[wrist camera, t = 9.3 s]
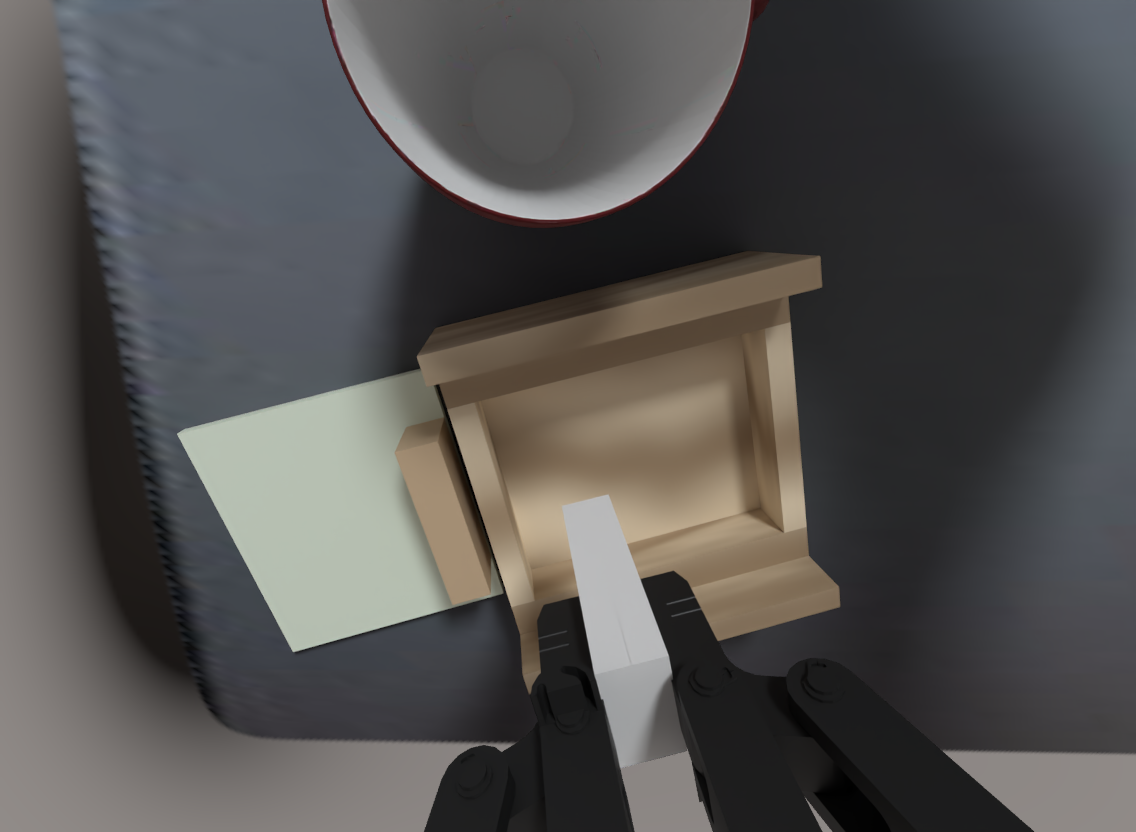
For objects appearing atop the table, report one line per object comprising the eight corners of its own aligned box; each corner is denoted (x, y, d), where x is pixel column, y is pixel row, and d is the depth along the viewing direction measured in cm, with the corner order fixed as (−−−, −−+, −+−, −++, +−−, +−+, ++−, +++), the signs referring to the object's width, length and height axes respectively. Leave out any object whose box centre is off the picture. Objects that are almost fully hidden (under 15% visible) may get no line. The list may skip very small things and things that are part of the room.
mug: (641, -112, 17) (808, -515, 8) (725, 137, 20) (922, 53, 11) (359, 44, 18) (206, -164, 8) (479, 267, 21) (465, 296, 11)
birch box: (435, 327, 21) (416, 356, 16) (747, 250, 22) (820, 255, 17) (522, 607, 26) (529, 693, 21) (777, 537, 26) (840, 606, 22)
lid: (190, 425, 22) (132, 461, 18) (430, 363, 22) (418, 387, 19) (300, 636, 26) (269, 700, 22) (503, 580, 26) (504, 633, 22)
